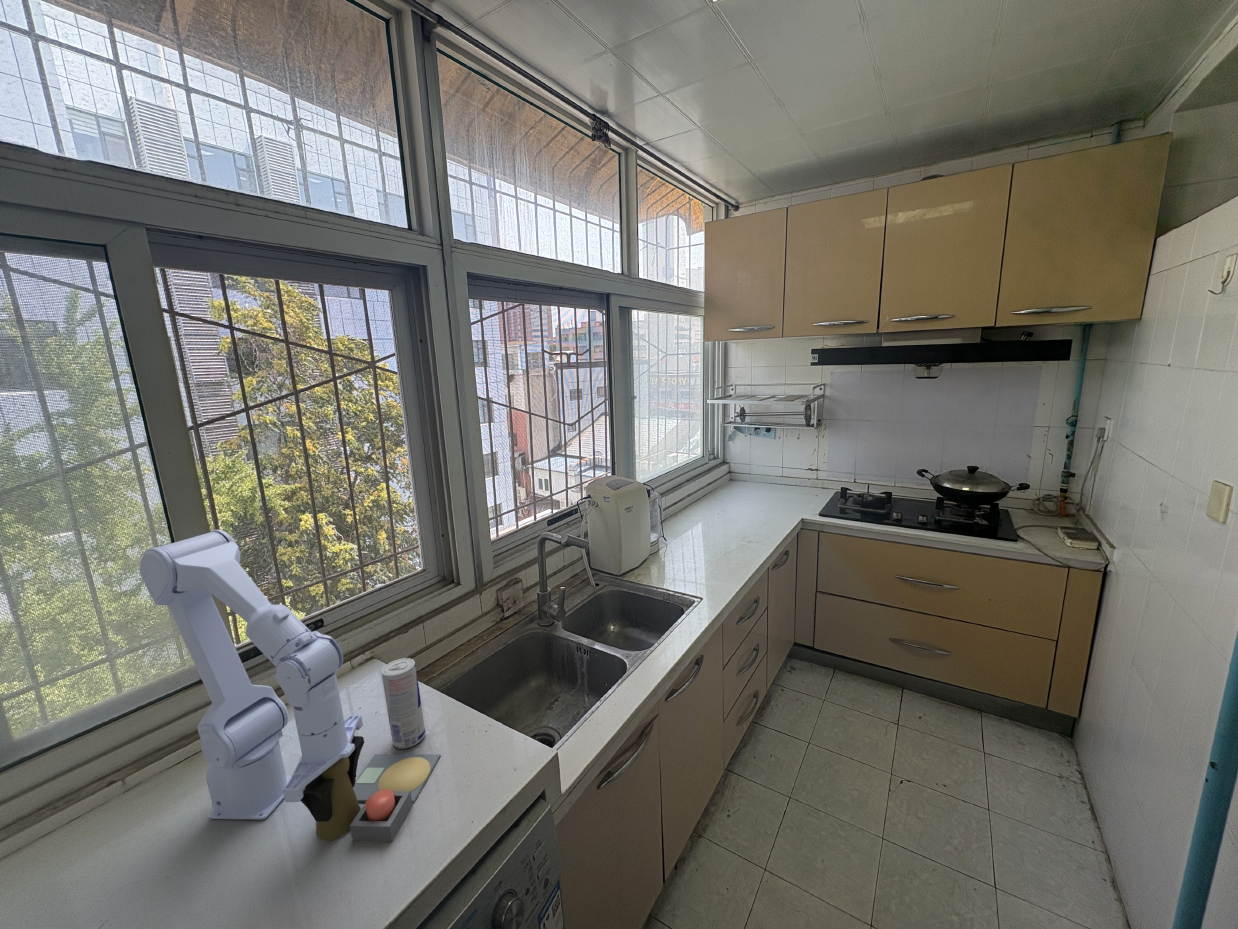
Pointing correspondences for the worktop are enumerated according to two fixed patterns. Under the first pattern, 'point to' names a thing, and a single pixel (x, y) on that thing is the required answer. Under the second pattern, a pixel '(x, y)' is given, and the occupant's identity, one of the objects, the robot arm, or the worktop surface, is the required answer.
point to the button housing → (382, 829)
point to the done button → (380, 805)
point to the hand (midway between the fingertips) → (335, 802)
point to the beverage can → (403, 702)
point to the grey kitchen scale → (395, 774)
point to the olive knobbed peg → (339, 803)
